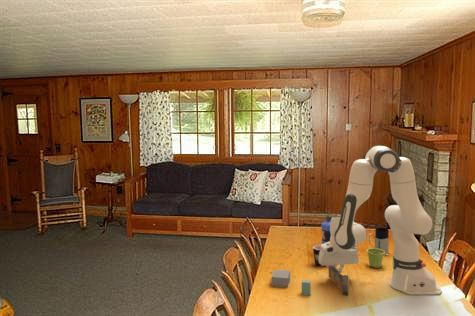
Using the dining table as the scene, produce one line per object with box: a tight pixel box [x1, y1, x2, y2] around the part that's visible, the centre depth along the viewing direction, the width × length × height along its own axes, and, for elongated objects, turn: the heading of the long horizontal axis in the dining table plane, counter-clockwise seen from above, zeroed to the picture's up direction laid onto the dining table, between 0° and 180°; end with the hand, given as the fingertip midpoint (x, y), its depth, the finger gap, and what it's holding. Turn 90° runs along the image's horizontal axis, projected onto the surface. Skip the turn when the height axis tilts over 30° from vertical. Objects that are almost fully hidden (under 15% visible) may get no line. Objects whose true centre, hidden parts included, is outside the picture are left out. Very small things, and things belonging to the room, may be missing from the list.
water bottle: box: [321, 213, 333, 245], centre depth 232 cm, size 9×9×25 cm
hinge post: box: [342, 274, 349, 297], centre depth 178 cm, size 2×2×9 cm
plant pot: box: [366, 247, 385, 269], centre depth 213 cm, size 9×9×9 cm
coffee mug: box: [312, 244, 326, 268], centre depth 215 cm, size 12×9×10 cm
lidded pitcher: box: [368, 227, 390, 255], centre depth 232 cm, size 9×14×15 cm, turn 112°
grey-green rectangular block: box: [301, 280, 312, 296], centre depth 180 cm, size 4×2×6 cm, turn 77°
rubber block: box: [271, 269, 291, 288], centre depth 193 cm, size 8×10×5 cm
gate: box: [327, 265, 344, 293], centre depth 189 cm, size 18×2×6 cm, turn 7°
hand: (338, 272), depth 195 cm, fingers closed
